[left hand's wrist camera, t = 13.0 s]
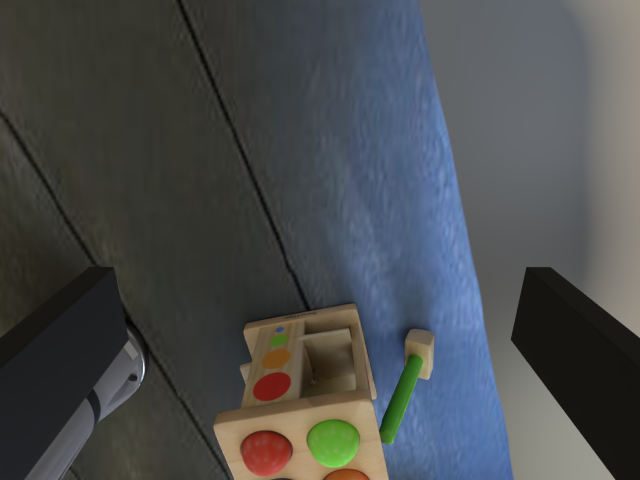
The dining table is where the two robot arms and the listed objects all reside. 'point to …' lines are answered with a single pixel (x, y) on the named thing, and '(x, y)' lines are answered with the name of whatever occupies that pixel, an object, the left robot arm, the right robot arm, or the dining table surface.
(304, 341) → the pounding bench toy
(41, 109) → the dining table surface
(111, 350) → the left robot arm
